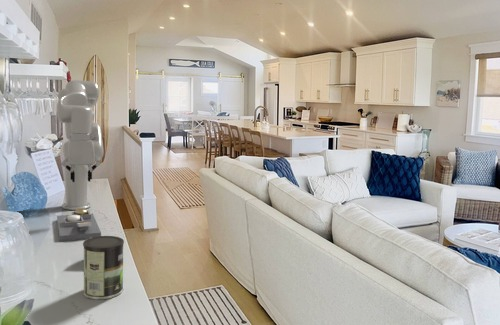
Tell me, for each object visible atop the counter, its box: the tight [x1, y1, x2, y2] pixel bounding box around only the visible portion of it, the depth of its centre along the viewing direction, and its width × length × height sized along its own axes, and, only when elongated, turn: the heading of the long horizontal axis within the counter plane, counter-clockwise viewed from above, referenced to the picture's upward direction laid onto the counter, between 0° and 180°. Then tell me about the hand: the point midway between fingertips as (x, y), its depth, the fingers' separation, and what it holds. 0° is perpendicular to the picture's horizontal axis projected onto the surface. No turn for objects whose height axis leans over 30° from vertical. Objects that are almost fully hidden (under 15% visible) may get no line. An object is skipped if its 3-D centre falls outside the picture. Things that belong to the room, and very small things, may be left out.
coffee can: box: [82, 235, 125, 301], centre depth 114 cm, size 10×10×14 cm
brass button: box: [74, 208, 88, 215], centre depth 175 cm, size 5×5×2 cm
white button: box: [67, 214, 80, 222], centre depth 166 cm, size 5×5×2 cm
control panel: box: [56, 210, 102, 242], centre depth 167 cm, size 28×14×4 cm, turn 26°
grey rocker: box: [77, 222, 91, 227], centre depth 159 cm, size 9×4×1 cm, turn 27°
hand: (81, 180), depth 174 cm, fingers open, 5 cm apart
